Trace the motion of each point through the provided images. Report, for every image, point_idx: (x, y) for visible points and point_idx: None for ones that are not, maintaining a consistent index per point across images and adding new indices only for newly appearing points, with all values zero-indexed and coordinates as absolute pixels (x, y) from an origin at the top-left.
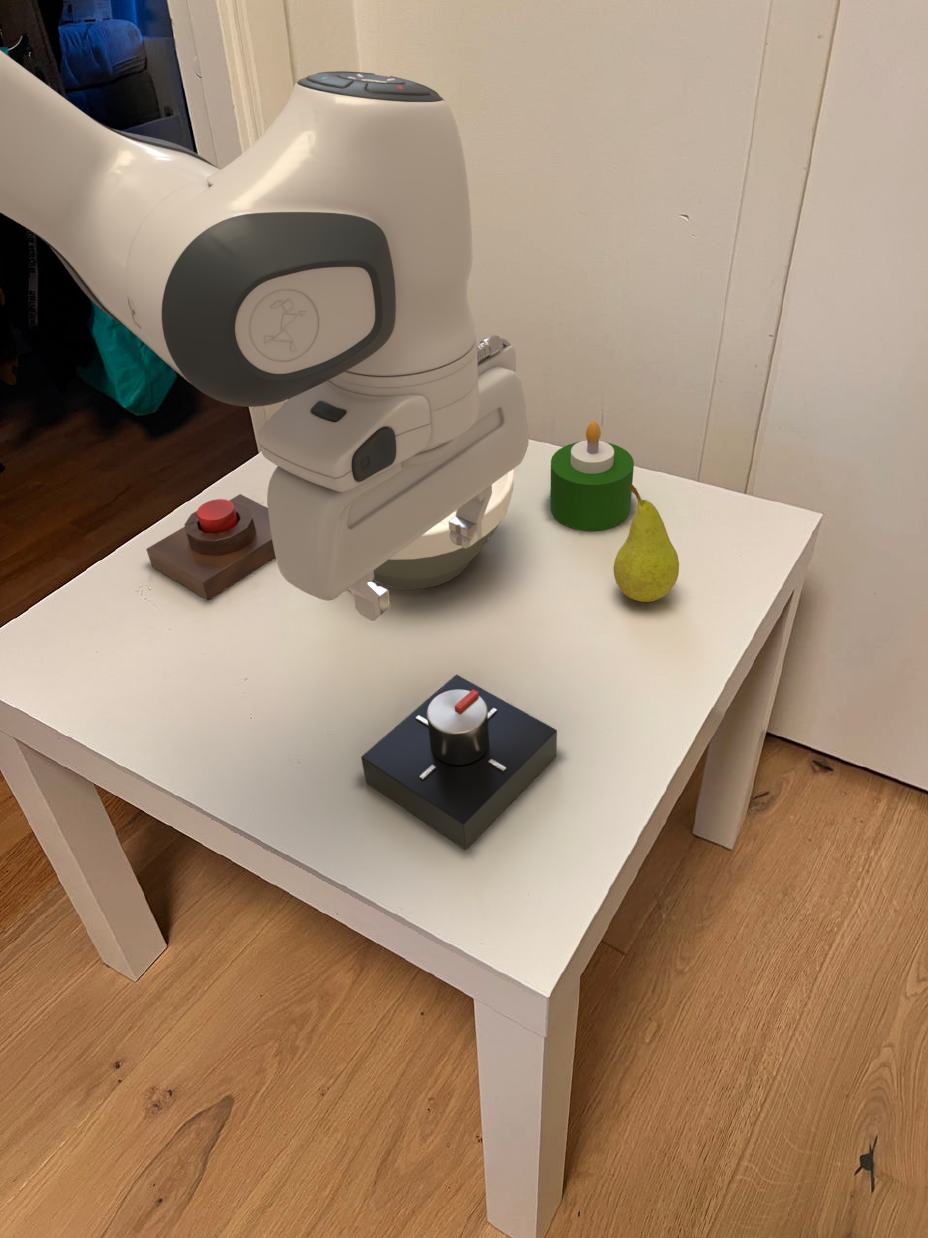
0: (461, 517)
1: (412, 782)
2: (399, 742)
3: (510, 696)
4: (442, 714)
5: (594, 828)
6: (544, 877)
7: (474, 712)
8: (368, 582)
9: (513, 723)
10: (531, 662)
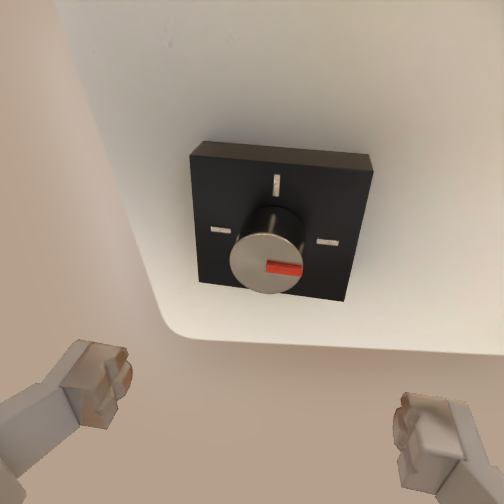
0: (452, 473)
1: (202, 222)
2: (233, 180)
3: (403, 203)
4: (250, 255)
5: (288, 324)
6: (229, 312)
7: (274, 281)
8: (87, 394)
9: (329, 266)
10: (477, 195)
